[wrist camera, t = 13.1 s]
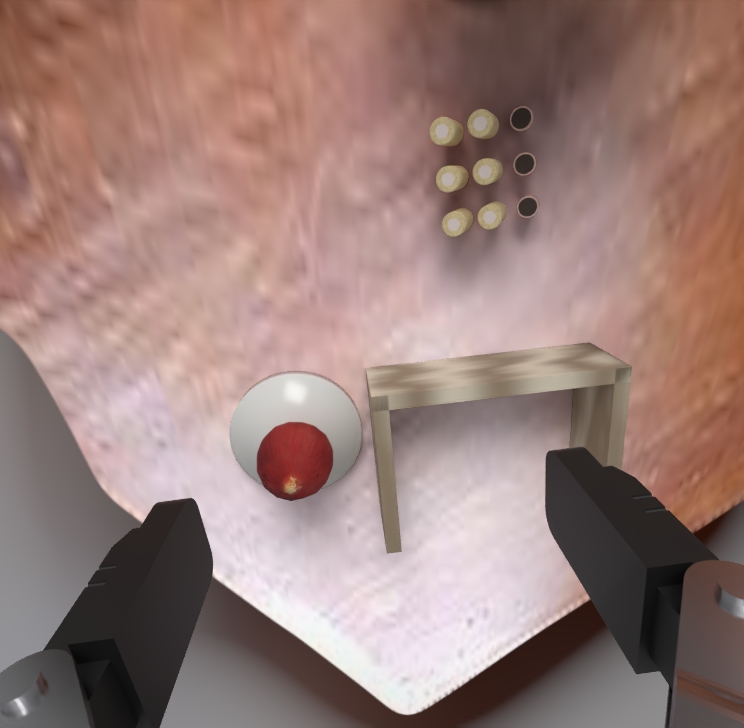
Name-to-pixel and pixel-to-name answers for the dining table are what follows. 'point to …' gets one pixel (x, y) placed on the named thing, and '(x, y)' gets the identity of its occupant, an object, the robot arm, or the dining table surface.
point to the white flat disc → (296, 417)
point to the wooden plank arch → (500, 379)
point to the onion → (294, 460)
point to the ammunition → (481, 168)
